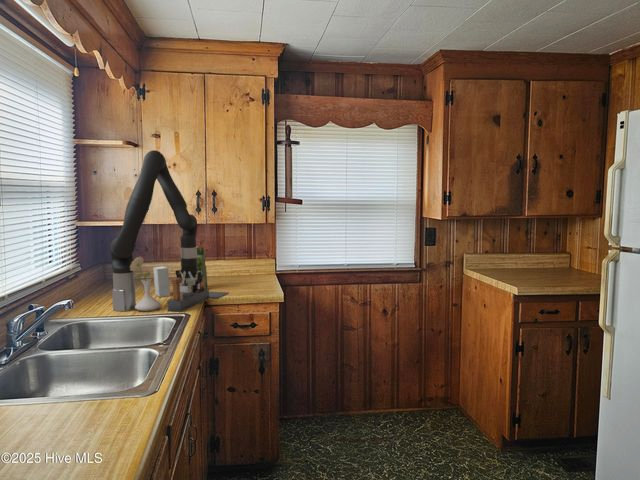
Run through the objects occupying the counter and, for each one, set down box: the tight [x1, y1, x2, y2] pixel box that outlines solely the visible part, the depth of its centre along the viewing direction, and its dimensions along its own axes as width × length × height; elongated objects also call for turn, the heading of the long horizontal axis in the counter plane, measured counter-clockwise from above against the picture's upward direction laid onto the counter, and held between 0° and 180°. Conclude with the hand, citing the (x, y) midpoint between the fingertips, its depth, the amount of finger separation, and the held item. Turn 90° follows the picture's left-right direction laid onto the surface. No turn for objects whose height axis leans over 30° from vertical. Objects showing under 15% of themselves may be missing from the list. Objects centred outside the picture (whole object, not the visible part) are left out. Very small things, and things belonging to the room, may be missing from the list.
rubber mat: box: [209, 290, 229, 300], centre depth 247 cm, size 12×12×1 cm
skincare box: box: [152, 265, 171, 298], centre depth 248 cm, size 8×6×15 cm
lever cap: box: [180, 282, 200, 293], centre depth 227 cm, size 10×5×4 cm, turn 164°
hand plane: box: [167, 277, 210, 313], centre depth 227 cm, size 26×6×14 cm, turn 164°
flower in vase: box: [130, 256, 162, 312], centre depth 217 cm, size 13×11×25 cm
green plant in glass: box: [186, 245, 208, 289], centre depth 261 cm, size 11×12×25 cm
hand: (189, 291), depth 228 cm, fingers closed on lever cap, 5 cm apart
